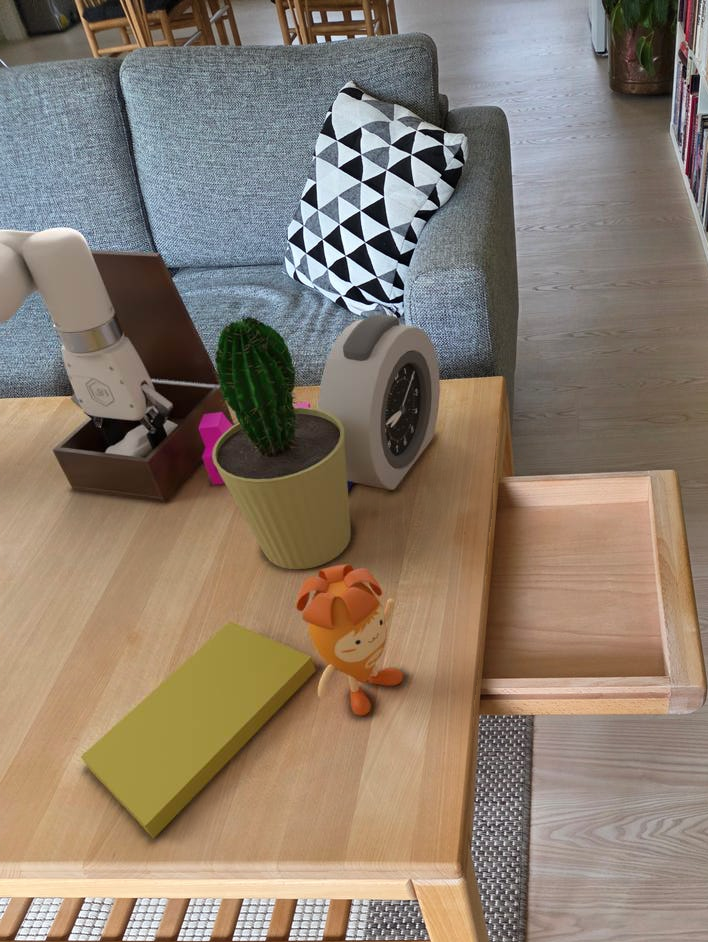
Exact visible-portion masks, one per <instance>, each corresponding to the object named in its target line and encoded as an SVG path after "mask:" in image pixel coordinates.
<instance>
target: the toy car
mask: <svg viewBox="0 0 708 942" xmlns="http://www.w3.org/2000/svg"><path fill="white" fill-rule="evenodd" d="M152 421H153V420H152ZM152 421H151V422H152ZM163 426H164V428H165V431H166V433H167V436H168V435H169V434H170V433H171V432H172V431H173V430H174V429H175V428H176V427H177V426H178V425H177V424H175V423H173V422H171V421H168V420H166V423H165V424H164V425H163ZM148 432H149V431H148V430H147V429H146V428H145V427H144V425H140V426H138V427H136V428H135V429H133V430H131V431H129V432H128V433H127V435H126V436H125V437H124V439H123V440H121V441H120V442H118V443H117V444H116V445H114V446H110V447H109V448H108V449H107V450H106V452H105V453H110V454H118V455H127V456H135V457H143V458H146V457H147V456H148V455H149V454H150V453H151V452H152V451H153V450H152V447H151V445H150V443H149V440H148V438H147V433H148Z"/></svg>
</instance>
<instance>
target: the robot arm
mask: <svg viewBox="0 0 708 942" xmlns="http://www.w3.org/2000/svg"><path fill="white" fill-rule="evenodd" d="M90 250H91V249H90V247H89V244H88V242H87V240H86V238H85V236H83V234H82V233H81V232H79V230H77V229H74V228H72V227H54V228H47V229H44V230H41V231H29V230H28V231H27V230H26V231H25V230H16V229H0V324H2V323H4V322H7V321H9V320H10V319H11V318H13V317H14V316H15V314H16V313H17V312H18V311H19V310H20V308H21V307H22V306H23V304H24V302H25V301H26V299H27V298H28V297H30V296H32V294H34V293H35V292H37V291H38V292H39V294H40V296H41V298H42V301H43V303H44V305H45V307H46V310H47V312H48V314H49V316H50V318H51V321H52V323H53V330H54V331H55V332H57V334H58V336H59V338H60V340H61V342H62V345H61V348H60V349H61V354H62V359H63V360H62V361H63V364H64V367H65V371H66V373H67V376H68V380H69V382H70V385H71V387H72V390H73V394H72V395H71V397H70V400H71V402H72V403H74V405H76V406H77V407H79V408H80V409H81V410H82V411H83V413H84V415H86V416H87V417H90V418H91V419H93V420H94V424H95V426H97V427H98V428H101V430H102V433H103V435H104V437H105V439H106V441H107V444H108V446H109V447H110V446H114V445H116V444H117V443H118V442H120V441H121V440H123V439H124V437H125V434H124V431H123V429H122V427H121V425H120V422H119V420H118V419H122V420H139V421H140V422H141V423H142V424H143V425H144V427H145V428H146V429H147V430H148V431H149V432H148V433H147V438H148V440H149V443H150V445H151V447H152V450H154V449H155V448H156V447H157V446H158V445H159V444H160V443H161V442H162V441H163V440H164V439H165V438H166V437H167V433H166V431H165V428H164V426H163V425H164V424H165V423H166V420H167V418H168V417H169V414H170V412H171V410H172V408H173V404H172V403H171V402H170V401H168V400H167V399H166V398H164V397H163V396H162V395H160V394H159V393H157V392H156V391H155V389H154V386H153V384H152V381H151V380H152V379H150V377H149V375H148V373H147V370H146V368H145V366H144V364H143V362H142V361H141V359H140V357H139V355H138V353H137V352H136V350H135V348H134V346H133V345H132V343H131V342H130V340H129V339H128V337H125V335H124V333H123V330H122V328H121V325H120V323H119V320H118V318H117V315H116V313H115V311H114V308H113V306H112V303H111V301H110V298H109V296H108V293H107V291H106V288H105V286H104V283H103V281H102V278H101V276H100V273H99V271H98V268H97V266H96V263H95V261H94V258H93V256H92V254H91V251H90ZM155 406H156V407H157V409H158V410H157V409H156V408H155ZM148 412H149V414H150V415H151V416H152V417H153V418H154V419H153V421H152V422H151V420H150V419H149V418H148V417H147V416H146V414H147V413H148Z"/></svg>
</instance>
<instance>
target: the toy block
mask: <svg viewBox="0 0 708 942" xmlns="http://www.w3.org/2000/svg"><path fill="white" fill-rule="evenodd" d="M297 403H298V404H296V403H294V405H293V407H310V408H312V407H311V404H310V403H311V402H310V401H307V402H303V403H302V402H297ZM232 426H233V425H232V424H231V423H230V422H229V421H228V420H227V418H226V417H225V416H224V414H223V413H222V412H218V413H209V414H204V415H203V417H202V420H201V423H200V425H199V428H198V429H199V432H200V434H201V437H202V439H203V442H204V445H205V447H206V448H205V450H204V453H203V456H202V459H203V461H202V462H203V464H204V466H205V469H206V471H207V473H208V477H209V479H210V481H211V484H212V485H223V484H225V482H224V481H223V479H222V477H221V475H220V474H219V472H218V469H217V467H216V466H215V464H214V462H213V458H212V453H213V448H214V446H215V444H216V442H217V441H218V439H219V438H220V437H221V436H222V434H224V433H225V432H226V431H227V430H228V429H229V428H231V427H232Z"/></svg>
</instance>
